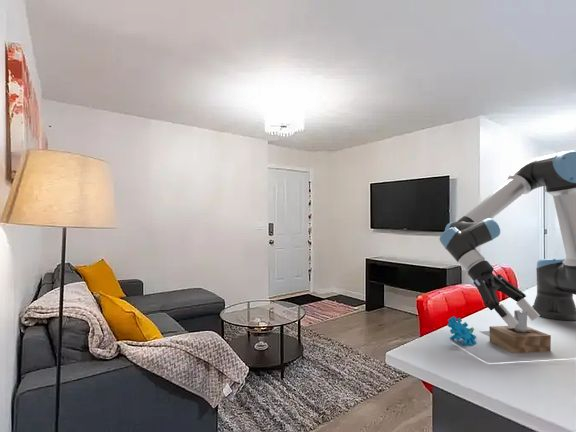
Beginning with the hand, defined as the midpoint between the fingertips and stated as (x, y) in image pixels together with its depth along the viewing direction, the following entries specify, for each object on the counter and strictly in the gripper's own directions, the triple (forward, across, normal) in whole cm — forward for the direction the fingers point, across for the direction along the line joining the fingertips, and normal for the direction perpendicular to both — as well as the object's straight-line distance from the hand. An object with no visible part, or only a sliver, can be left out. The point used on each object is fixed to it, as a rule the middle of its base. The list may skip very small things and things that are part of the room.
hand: (525, 321), depth 105 cm
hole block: (+4, 0, -7) cm, 8 cm away
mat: (-1, -6, -13) cm, 14 cm away
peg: (+5, 0, -7) cm, 8 cm away
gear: (-4, +11, -16) cm, 19 cm away
